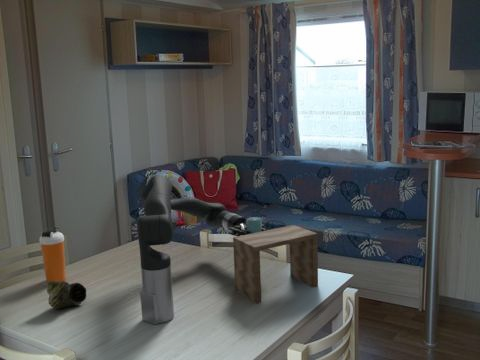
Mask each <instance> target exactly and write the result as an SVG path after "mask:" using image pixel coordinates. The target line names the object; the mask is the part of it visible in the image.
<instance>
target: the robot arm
mask: <svg viewBox="0 0 480 360" xmlns="http://www.w3.org/2000/svg"><path fill="white" fill-rule="evenodd" d="M172 190H173V185H172V182H171V181H170V180H169V179H168V178H167V177H165V176H164V175H161V174H155V175H152V176H150V179H149V180H148V182H147V183H146V185H145V187H144V188H143V190H142V192H141V198H142V199H143V201H144V205H143V206H144V207H143V211H144V215H141V216H140V217H139V218H137V222H136V223H137V224H136V229H137V241H138V246H139V256H140V257H139V258H140V271H141V272H140V273H141V286H142V290H141V291H140V292H139V294H140V303H141V304H140V305H141V307H140V308H141V320H142V321H145V322H147V323H150V324H153V325H158V324H163V323H166V322H169V321H171V320H172V319H174V317H175V313H174V312H175V311H174V310H175V309H174V298H173V297H174V294H173V281H172V280H173V279H172V264H171V263H172V261H171V256H170V255H169V254H167V253H166V252H162V251H158V250H156V249H154V248H153V247H151V246H163V245H167V244H169V243H171V242H172V240H173V237H174V224H173V223H174V222H173V219H172V211H177V212H181V213H184V214H187V215H190V216H193V217H196V218H198V219H204V218H205V220H204V221H205V224H206V225H207V226H208V227H209V228H213V229H220V228H222V229H225V230H226V231H227V232H228V234H229V235H232V236H233V237H237V236H242V235H247V234H252V233H251V232H250V231H248V230H247V225H246V219H247V218H246V217H244V216H242V215H241V214H240V215H239V214H237V213H233V212H230V211H228V210H227V208H226V206H225V205H224V204H222V203H219V202H207V201H204V200H201V199H198V198H196V197H193V196H187V197H186V196H185V197H179V198H174V199H172V197H171V194H172ZM262 231H267V230H266V229H265V224H263V223H262Z"/></svg>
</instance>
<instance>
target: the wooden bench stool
mask: <svg viewBox="0 0 480 360" xmlns="http://www.w3.org/2000/svg"><path fill="white" fill-rule="evenodd" d="M318 237H319V236H318V233H317V232H315V231H312V230H309V229H306V228H303V227H301V226H298V225H295V224H292V225H287V226H282V227H278V228H277V227H276V228H272V229H267V230H266V231H262V232H257V233H252V234H247V235H242V236H233V237H232V242H233V243H232V245H233V263H234V264H233V266H234V267H233V268H234V270H233V271H234V289H235V291H236V292H237V293H239V294H240V295H242V296H244V297H245V298H247V299H248V300H250V301H251V302H253V303H255V304H260V303H262V284H261V282H262V281H261V280H262V279H261V255H260V254H261V253H260V252H261V251H264V250H268V249H271V248H272V249H273V248H277V247H282V246H286V245H289V267H290V268H289V270H290V273H289V274H290V276H291V277H292V278H294V279H296V280H298V281H300V282H302V283H304V284H306V285H308V286H310V287H312V288H317V287H319V262H318V261H319V257H318V255H319V254H318V250H319V249H318V248H319V247H318V242H319V241H318V240H319V239H318Z"/></svg>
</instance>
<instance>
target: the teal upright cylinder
mask: <svg viewBox="0 0 480 360" xmlns="http://www.w3.org/2000/svg"><path fill="white" fill-rule="evenodd" d="M262 224H263V222H262V218H261V217H259V216H257V217H256V216H255V217H253V216H252V217H251V216H250V217H248V218H246V225H247V230H248V231H250V232H251V233H257V232H262Z"/></svg>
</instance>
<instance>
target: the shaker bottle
mask: <svg viewBox="0 0 480 360" xmlns="http://www.w3.org/2000/svg"><path fill="white" fill-rule="evenodd" d="M59 229H60V228H59V227H52V228H49V229H48V230H46V231H41V234H40V237H39V238H38V240H39V245H40V248H41V255H42V262H43V268H44V269H43V270H44V274H45V275H44V276H45V280H46V282H47V281H55V282H59V281H66V278H67V277H66V259H65V256H66V255H65V254H66V253H65V236H64V234H63V233H62V232H60V231H58V230H59Z"/></svg>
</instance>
